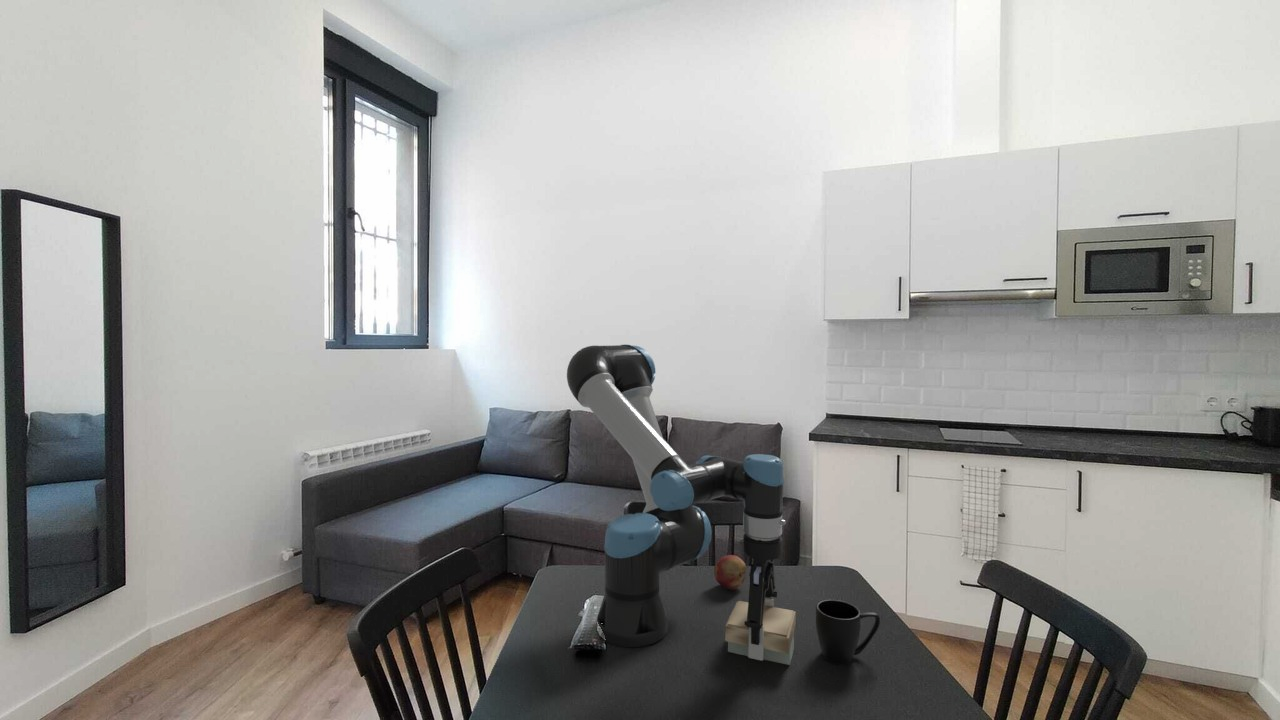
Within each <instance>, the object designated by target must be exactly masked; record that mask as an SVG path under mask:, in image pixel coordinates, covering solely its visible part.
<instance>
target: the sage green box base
mask: <svg viewBox="0 0 1280 720" xmlns="http://www.w3.org/2000/svg"><path fill="white" fill-rule="evenodd" d="M794 647H795V633H794V634H793V638H792V642H791V646H790V650H789V654H786V653H781V652H776V651H772V650H767V649H764V653H763V661H764V660H765V661H769V662H774V663H779V664H784V665H786V666H787V665H788V666H790V665H791V663H792V658H793V654H794V650H795V648H794ZM748 651H749V646H748V645H743V644H738V643H733V642H728V641H727V652H728V653H733V654H737V655H742V656H746V657H748Z"/></svg>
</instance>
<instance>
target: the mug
mask: <svg viewBox="0 0 1280 720" xmlns="http://www.w3.org/2000/svg"><path fill="white" fill-rule="evenodd" d="M868 617H870V618H871V617H872V618H874V622H873V623H874V624H873V626H872V628H871V630H869V633H868V634H867V635H866V636H865V638H864V640H863V641H862V642H861V643H860V644H859V645H858V642H859V639H860V631H861V619H865V618H868ZM880 623H881V617H880V615H879V614H878V613H877V612H872V611H862V612H861V611H860V609H859V608H858V607H857V606H856V605H854V604H852V603H850V602H847V601H843V600H839V599H825V600H824V599H823V600H821V601H818V602H817V603H816V606H815V627H816V634H817V638H818V642H819V646H820V650H821V653H822V654H821V655H822V657H823V659H825V660H826V661H827V662H830V663H832V664H835V665H848V664H850V663H851V662H852V661H853V657H854V656H857V655H858V656H859V654H861V653H862V652H863V651H864V650H865V648H866V647H867V646H868V645H869V643H870V642H871V641H872V639H873V638H874V636H875V635H876V633H877V631H878V630H879V627H880Z"/></svg>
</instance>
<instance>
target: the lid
mask: <svg viewBox="0 0 1280 720" xmlns="http://www.w3.org/2000/svg"><path fill="white" fill-rule="evenodd" d="M747 614H748V601H743V600H736V604H735V605H734V607H733V609H732V611H731V612H730V615H729V617H728V619H727V621H726V624H725V633H724V634H725V635H724V637H725V638H724V640H725V641H724V642H727V643H728V642H733V643H738V644H743V645H748V646H749V627H747V625H745V621H746V622H747ZM796 620H797V612H796V611H794V610H792V609H786V608H782V607H781V608H780V607H775V606H773V607H771V606H765V605H764V614H763V625H764V649H767V650H772V651H776V652H781V653H786V654H789V650H790V646H791V642H792V638H793V634H794V635H795V631H796V630H795V629H796V623H797V622H796Z"/></svg>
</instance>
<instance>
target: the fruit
mask: <svg viewBox="0 0 1280 720" xmlns="http://www.w3.org/2000/svg"><path fill="white" fill-rule="evenodd" d="M713 568H714V569H713V570H714V572H713V573H714V578H715V579H714V580H716V582H717V583H718V584H719V586H721V587H723V588H725V589H727V590H737V589H738V588H739V587H740V588H741V586H742V585H743V584H744V583H745V582H744V581H745V579H746V573H747V566H746V562H744V560H743V559H741V558H740V556H737V555H734V554H728V555H724V556H722V557H721V558H719V560H717V562H716V563H715V565H714V567H713Z"/></svg>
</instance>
